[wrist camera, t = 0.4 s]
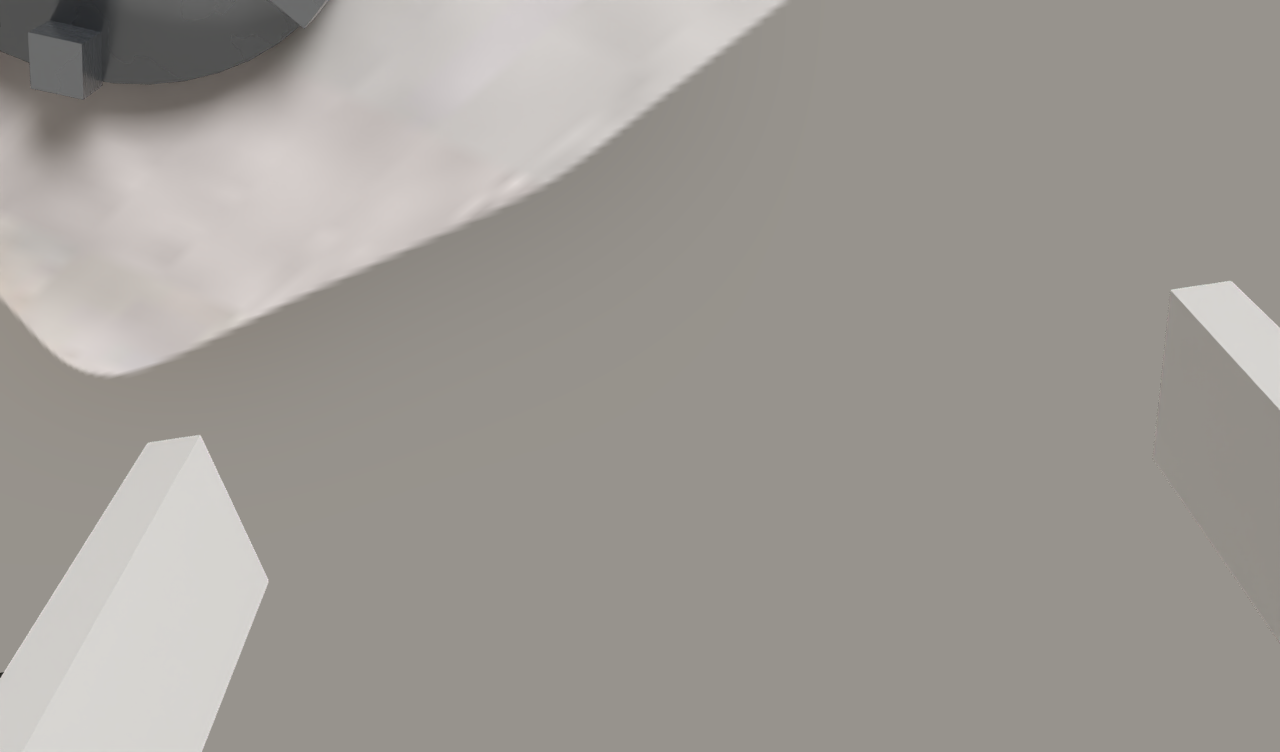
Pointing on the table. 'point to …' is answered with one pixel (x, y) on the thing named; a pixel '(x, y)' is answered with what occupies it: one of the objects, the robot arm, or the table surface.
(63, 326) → the table surface
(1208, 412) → the robot arm
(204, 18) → the dark grey round base
